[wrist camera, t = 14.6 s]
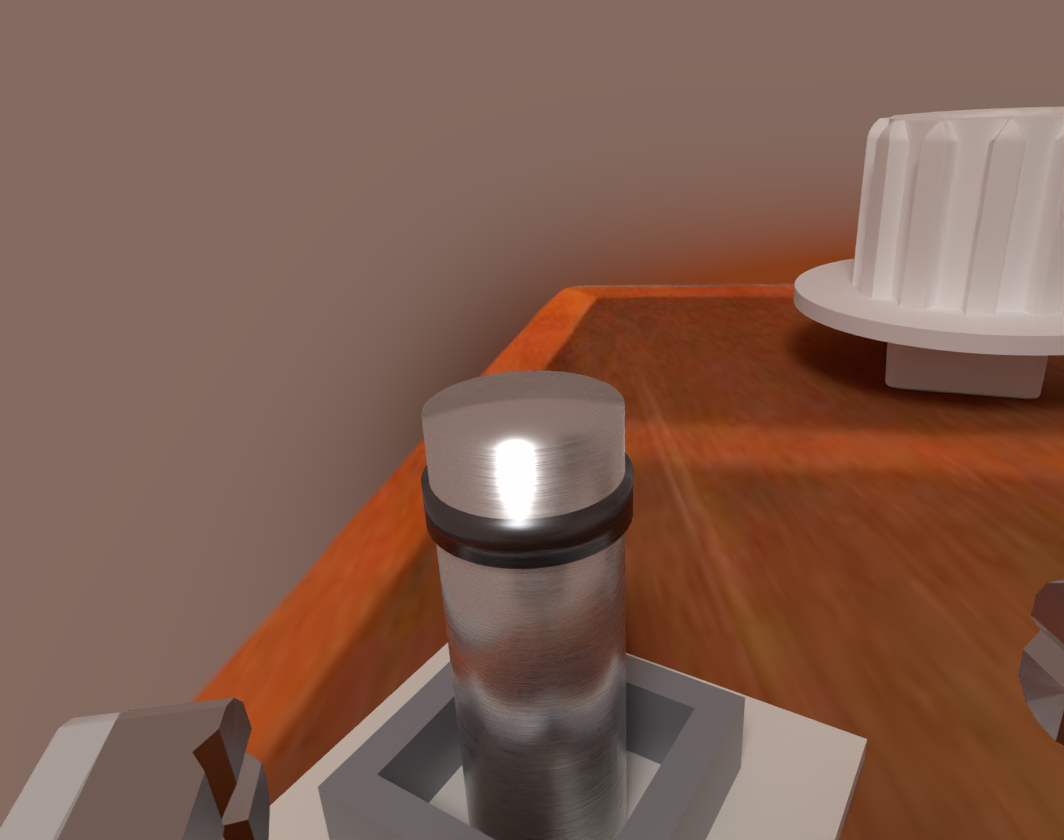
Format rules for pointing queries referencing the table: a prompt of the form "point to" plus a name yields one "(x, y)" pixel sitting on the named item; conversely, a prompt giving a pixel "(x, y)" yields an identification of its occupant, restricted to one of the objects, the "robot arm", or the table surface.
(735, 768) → the socket mount
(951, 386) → the flanged gear
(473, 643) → the capped metal cylinder
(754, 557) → the table surface
